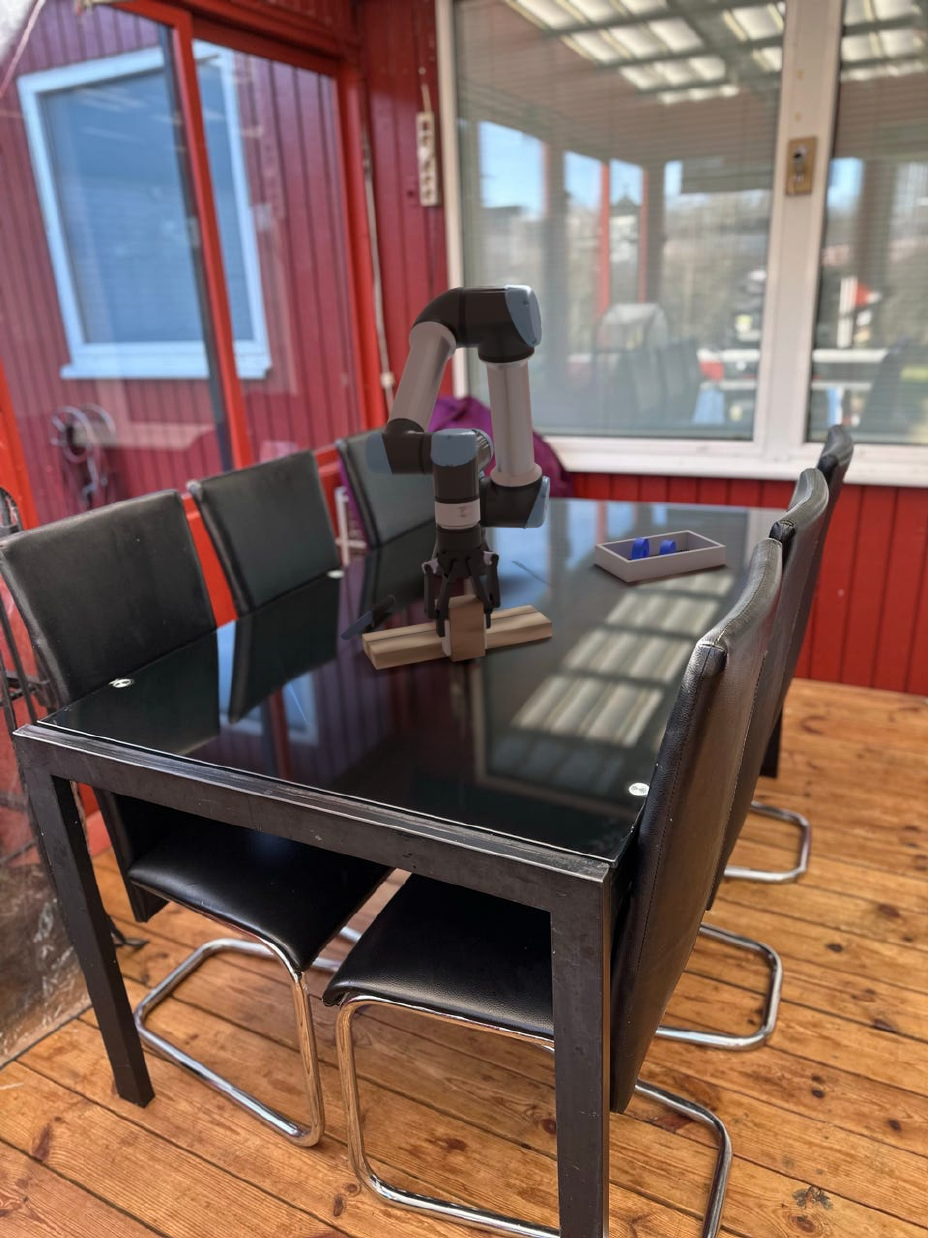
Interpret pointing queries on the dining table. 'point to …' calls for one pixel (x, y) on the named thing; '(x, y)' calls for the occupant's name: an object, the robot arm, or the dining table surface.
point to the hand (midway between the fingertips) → (464, 649)
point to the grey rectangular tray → (697, 557)
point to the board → (427, 644)
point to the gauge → (466, 627)
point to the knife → (369, 617)
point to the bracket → (642, 548)
